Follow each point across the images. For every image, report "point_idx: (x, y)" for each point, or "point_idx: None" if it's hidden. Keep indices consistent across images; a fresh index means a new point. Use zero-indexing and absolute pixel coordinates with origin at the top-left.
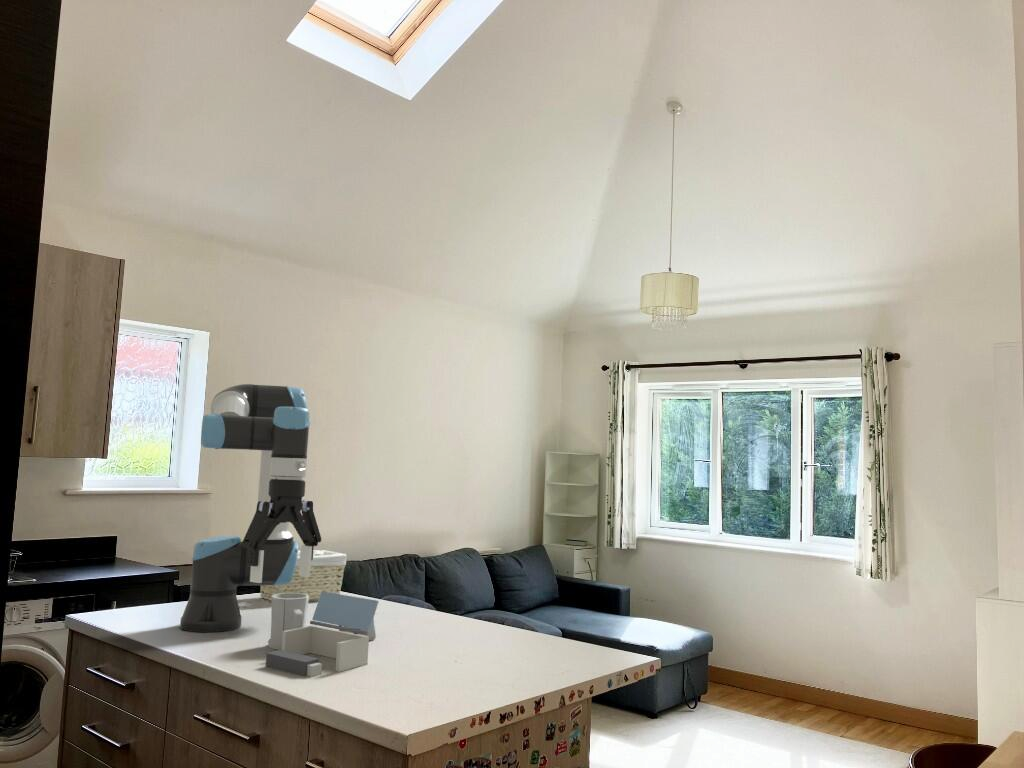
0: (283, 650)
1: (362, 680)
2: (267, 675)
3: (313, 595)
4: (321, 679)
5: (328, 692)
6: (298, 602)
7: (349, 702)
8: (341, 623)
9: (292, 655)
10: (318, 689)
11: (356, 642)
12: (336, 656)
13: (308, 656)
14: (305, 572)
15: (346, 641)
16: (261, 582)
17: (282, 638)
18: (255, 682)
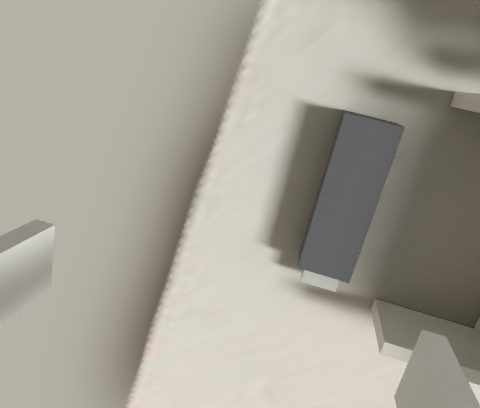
0: (459, 103)
1: (325, 378)
2: (266, 168)
3: None
4: (292, 298)
5: (212, 349)
6: None
7: (177, 403)
8: None
9: (350, 200)
10: (220, 324)
11: None
12: (379, 319)
13: (359, 245)
14: (406, 397)
15: None
16: (46, 291)
17: (476, 95)
18: (201, 178)
